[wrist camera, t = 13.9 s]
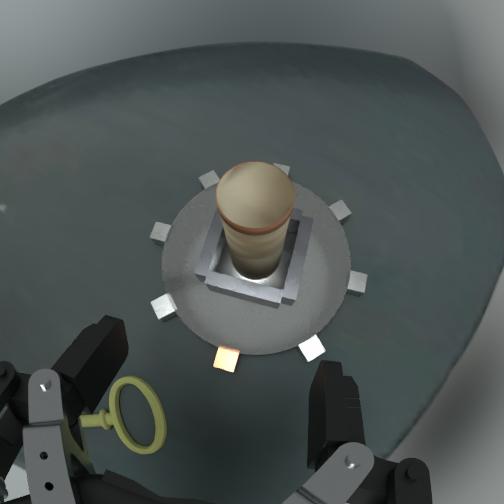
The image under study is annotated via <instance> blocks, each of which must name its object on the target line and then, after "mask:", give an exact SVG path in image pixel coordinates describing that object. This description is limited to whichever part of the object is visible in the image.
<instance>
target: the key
mask: <svg viewBox="0 0 504 504" xmlns="http://www.w3.org/2000/svg"><path fill="white" fill-rule="evenodd" d="M126 384H133V385H135V386H137V387H138V388H139V389H140V390H141V391H142V393H143V394H144V395H145V397H146V398H147V400H148V402H149V404H150V406H151V409H152V412H153V415H154V419H155V427H156V430H155V438H154V442H153V443H152V444H151V445H150V446H141V445H139V444H137V443H136V442H135V441H134V440H133V439H132V438H131V436H130V435H129V433H128V432H127V430H126V428H125V426H124V423H123V421H122V418H121V414H120V408H119V394H120V390H121V388H122V387H123V386H124V385H126ZM109 407H110V413H108V412H107V411H106V410H104V409H102V410H100V412H99V414H92V415H91V414H90V415H80V419H81V424H82V427H97V426H102V427H103V428H104V429H106V430H109V429H110V428H111V425H114V427H115V429H116V431H117V434H118V435H119V437H120V439H121V440H122V441H123V443H124V444H125V445H126V446H127V447H128V448H129V449H131V450H132V451H134V452H136V453H139V454H150V453H154V452H156V451H158V450H159V449H160V448H161V447H162V446H163V444H164V442H165V439H166V433H167V425H166V419H165V415H164V411H163V408H162V405H161V403H160V401H159V398H158V397H157V395H156V393H155V392H154V390H153V389H152V388H151V387H150V386H149V385H148V383H146V382H145V381H144V380H143V379H140V378H138V377H136V376H125V377H122V378H120V379H119V380H117V381H116V382H115V383H114V384H113V386H112V388H111V391H110V395H109Z"/></svg>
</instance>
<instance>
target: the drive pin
mask: <svg viewBox="0 0 504 504" xmlns="http://www.w3.org/2000/svg"><path fill="white" fill-rule="evenodd" d="M294 201H295V189H294V186H293V183H292V181H291V180H290V178H289V177H288V175H287V174H286V173H285V172H284V171H282V170H281V169H280V168H278V167H276V166H274V165H272V164H269V163H266V162H258V161H253V162H245V163H242V164H239V165H236V166H235V167H233V168H231V169H230V170H228V171H227V172H226V173H225V174H224V175H223V176H222V178H221V179H220V181H219V183H218V185H217V188H216V203H217V207H218V211H219V214H220V216H221V219H222V223H223V228H224V232H225V236H226V240H227V244H228V248H229V252H230V256H231V260H232V263H233V266H234V268H235V270H236V271H237V272H238V273H239V274H240V275H241V276H243V277H245V278H247V279H250V280H261V279H265V278H267V277H269V276H271V275H272V274H273V273H274V272H275V271H276V269H277V268H278V266H279V263H280V259H281V254H282V250H283V246H284V241H285V237H286V233H287V228H288V224H289V219H290V215H291V213H292V210H293V206H294Z"/></svg>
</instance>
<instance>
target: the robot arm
mask: <svg viewBox="0 0 504 504" xmlns="http://www.w3.org/2000/svg"><path fill="white" fill-rule="evenodd" d="M127 355H128V342H127V336H126V331H125V326H124V322H123V320H121V319H118V318H115V317H111V316H108V315H105V316H104V317H103V318H102V319H101V320H100V321H99V322H98V324H92V325H90V326H88V327H87V328H85V329H83V331H82V332H81V333H80V334H79V335H78V336H77V339H75V340H74V341H73V342H72V344H71V345H70V346H69V347H68V348H67V350H66V351H65V352H64V353H63V354H62V356H61V357H60V358H59V359H58V361H57V362H56V363H55V364H54V366H53V367H52V368H51V369H41V370H38V371H36V372H35V373H34V374H32V375H29V374H23V373H18V372H16V370H15V368H14V366H13V365H12V364H11V363H10V362H7V361H1V362H0V412H1V411H2V409H3V408H4V406H5V405H6V406H7V407H8V409H7V410H6V412H5V413H4V415H3V416H2V418H1V419H0V504H214V503H209V502H204V501H200V500H196V499H180V498H166V497H160V496H158V495H156V494H154V493H153V492H151V491H149V490H148V489H146V488H145V487H143V486H141V485H140V484H138V483H137V482H135V481H134V480H131V479H129V478H126V477H124V476H121V475H119V474H116V473H114V472H111V471H109V470H107V469H106V471H105V473H104V475H103V474H96V472H95V470H94V467H93V465H92V463H91V461H90V459H89V456H88V452H87V448H86V443H85V439H84V434H83V429H82V424H81V419H80V414H81V413H82V411H84V412H86V413H89V414H91V415H92V414H93V412H94V410H95V409H96V407H97V405H98V404H99V402H100V400H101V399H102V397H103V395H104V394H105V392H106V390H107V389H108V387H109V385H110V384H111V382H112V381H113V379H114V377H115V376H116V374H117V373H118V371H119V369H120V368H121V366H122V365H123V363H124V361H125V360H126V358H127ZM360 407H361V405H360V400H359V391H358V386H357V384H356V383H355V381H354V380H353V378H352V377H351V376H343V373H342V365H341V362H335V361H326V360H321V362H320V364H319V367H318V369H317V372H316V374H315V377H314V380H313V382H312V385H311V388H310V393H309V424H308V455H307V468H310V469H315V474H314V475H313V476H312V477H311V478H310V479H309V480H308V481H307V482H306V483H305V484H304V485H303V486H302V487H301V488H299V489H298V490H297V491H295V492H294V493H293V494H292V495H291V496H290V497H289V498H288V499H286V500H285V501H284V502H283V503H282V504H345V502H346V503H350V504H432V493H431V483H430V475H429V470H428V467H427V466H426V464H425V463H424V462H423V461H421V460H419V459H416V458H407V459H404V460H402V461H401V462H400V463H395V462H391V461H387V460H384V459H380V458H378V457H376V456H374V455H373V454H372V452H371V450H370V449H369V448H368V447H367V446H366V444H365V439H364V430H363V421H362V413H361V409H360ZM23 444H24V455H25V464H26V472H27V479H28V485H29V491H30V494H29V495H26V496H23V497H20V498H16V499H13V500H10V501H7V502H4V499H6V498H7V496H8V491H7V489H6V486H5V482H4V480H5V478H6V476H7V474H8V472H9V470H10V468H11V466H12V464H13V462H14V460H15V459H16V457H17V455H18V453H19V451H20V449H21V447H22V446H23Z"/></svg>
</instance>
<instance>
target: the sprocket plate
mask: <svg viewBox="0 0 504 504" xmlns="http://www.w3.org/2000/svg"><path fill="white" fill-rule="evenodd" d="M273 165H274V166H276V167H278V168H280V169H281V170H282V171H284V172H285V173H286V174H287V175H288V177H289V171H290V167H289V166H284V165H280V164H275V163H274V164H273ZM199 181H200V184H201V187H202V188H203V191H202V192H200V193H199V194H197V195H196V196H195V197H194V198H192V199H191V200H190V201H189V202H188V203H187V204H186V205H185V206H184V208H183V209H182V210H181V211H180V212H179V214H178V215H177V217H176V218H175V220H174V221H173V223H172V225H168V224H164V223H160V222H156V223H155V226H154V228H153V231H152V233H151V236H150V239H151V240H152V241H153V242H154V243H155V244H157V245H161V246H164V248H163V253H162V277H163V282H164V286H165V291H166V293H167V294H165V295H163V296H161V297H159V298H158V299H156V300H154V301H152V302H151V304H152V306H153V308H154V310H155V313H156V315H157V317H158V319H159V320H161V321H166V320H168V319H170V318H172V317H174V316H176V315H178V316H179V317H180V319H181V320H182V321H183V323H184V324H185V325H186V326H187V327H188V328H189V329H190V330H192V331H193V332H194V333H195V334H196V335H198V336H199V337H200V338H202V339H203V340H205V341H207V342H209V343H210V344H212V345H214V346H216V347H219V349H218V352H217V355H216V359H215V362H214V367H217V368H221V369H224V370H228V371H231V372H234V371H235V369H236V365H237V362H238V358H239V355H240V354H248V355H264V354H272V353H277V352H282V351H285V350H288V349H291V348H293V347H297V349H298V350H299V352H300V354H301V355H302V357H303V358H304V360H305V362H309V361H311V360H312V359H314V358H315V357H317V356H319V355H320V354H322V353H323V352H325V349H324V347H323V346H322V344H321V342H320V341H319V339H318V337H317V336H316V334H317V333H318V332H320V331H321V330H322V329H323V328H324V327H325V326H326V325H327V324H328V323H329V321H330V320H331V319H332V318H333V316H334V315H335V314H336V312H337V310H338V309H339V307H340V305H341V304H342V301H343V299H344V296H345V294H346V293H347V294H351V295H355V296H360V295H362V294H363V293H364V292H365V286H366V280H367V274H363V273H359V272H355V271H351V259H350V251H349V245H348V241H347V238H346V235H345V232H344V230H343V228H342V226H341V224H342V223H344V222H346V221H347V220H348V219H349V217H350V215H351V214H352V213H351V212H350V210H349V209H348V208H347V206H346V205H345V204H344V202H343V201H342V200H340V201H338V202H336V203H334V204H332V205H331V206H329V207H328V206H327V204H326V203H324V202H323V201H322V200H321V199H320V198H319V197H318V196H317V195H315V194H314V193H313V192H311V191H310V190H308V189H306V188H305V187H303V186H301V185H299V184H297V183H294V182H292V183H293V186H294V189H295V201H294V206H293V210H292V213H291V215H290V219H289V224H288V228H287V233H286V237H285V241H284V246H283V250H282V254H281V259H280V263H279V266H278V268H277V269H276V271H275V272H274V273H273V274H272V275H271V276H269V277H267V278H265V279H261V280H250V279H247V278H245V277H243V276H241V275H240V274H239V273H238V272H237V271H236V270H235V268H234V266H233V263H232V260H231V256H230V252H229V248H228V244H227V240H226V236H225V232H224V228H223V223H222V219H221V216H220V214H219V211H218V207H217V203H216V188H217V185H218V183H219V181H220V179H219V178H218V176H217V175H216V173H215V172H214V170H213V171H211V172H209V173H206V174H204V175H202V176H200V177H199Z"/></svg>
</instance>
